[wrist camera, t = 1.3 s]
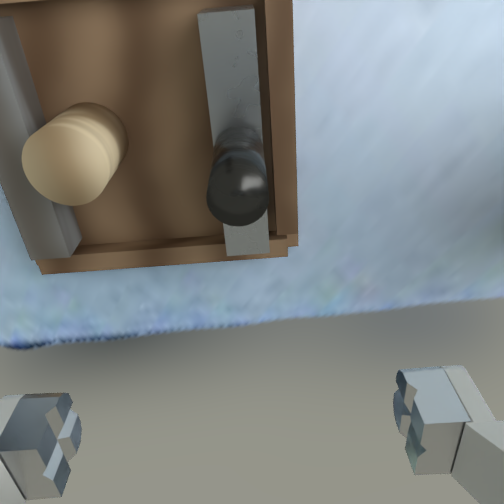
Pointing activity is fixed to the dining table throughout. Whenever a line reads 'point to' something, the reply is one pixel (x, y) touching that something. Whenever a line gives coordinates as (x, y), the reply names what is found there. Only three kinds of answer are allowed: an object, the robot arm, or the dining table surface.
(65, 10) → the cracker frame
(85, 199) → the beige wooden cylinder
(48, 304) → the dining table surface
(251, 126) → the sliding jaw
